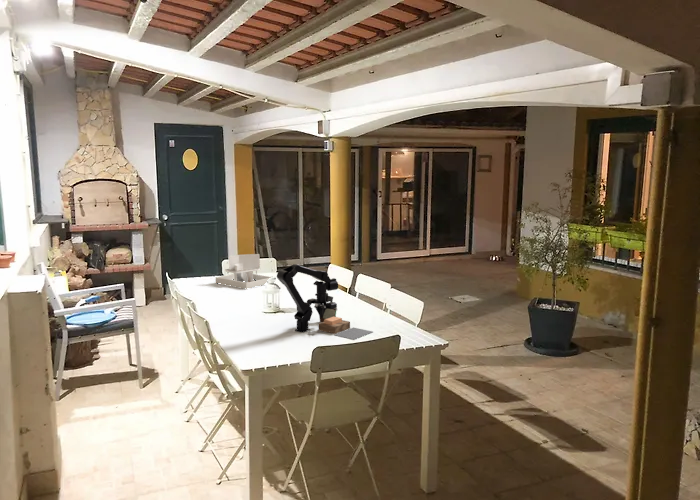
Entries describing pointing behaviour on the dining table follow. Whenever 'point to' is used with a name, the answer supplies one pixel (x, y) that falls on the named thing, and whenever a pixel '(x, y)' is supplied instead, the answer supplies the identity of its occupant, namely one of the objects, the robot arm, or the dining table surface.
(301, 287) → the dining table surface
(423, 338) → the dining table surface
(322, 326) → the brown flat block
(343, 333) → the mat
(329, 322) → the peach block
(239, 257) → the architectural model
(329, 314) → the food container
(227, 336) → the dining table surface
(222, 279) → the holder corral
